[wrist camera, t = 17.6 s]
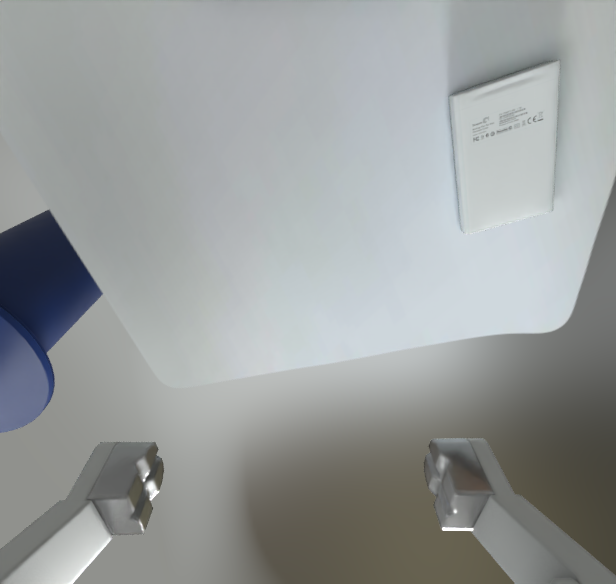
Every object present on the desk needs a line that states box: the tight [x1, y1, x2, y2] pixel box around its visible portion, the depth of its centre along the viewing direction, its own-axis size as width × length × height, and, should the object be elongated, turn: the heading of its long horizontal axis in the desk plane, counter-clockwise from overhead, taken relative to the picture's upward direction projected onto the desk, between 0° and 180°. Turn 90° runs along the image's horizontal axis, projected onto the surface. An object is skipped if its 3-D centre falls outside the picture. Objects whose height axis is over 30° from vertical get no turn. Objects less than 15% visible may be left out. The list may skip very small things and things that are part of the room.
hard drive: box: [449, 60, 561, 235], centre depth 31 cm, size 2×8×12 cm
